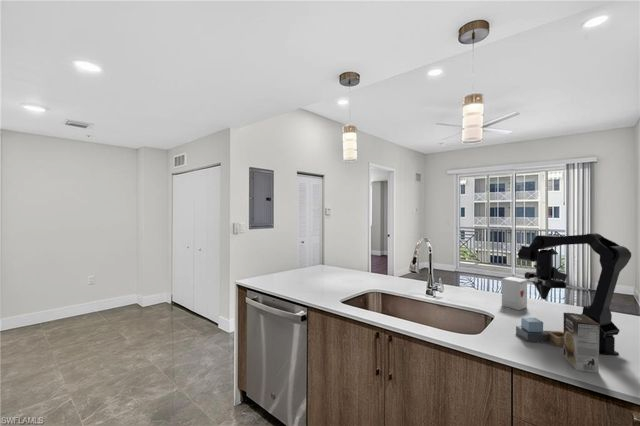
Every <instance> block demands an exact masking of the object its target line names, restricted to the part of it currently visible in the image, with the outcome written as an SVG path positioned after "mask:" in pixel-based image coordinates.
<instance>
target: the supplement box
mask: <svg viewBox="0 0 640 426" xmlns="http://www.w3.org/2000/svg"><path fill="white" fill-rule="evenodd" d="M502 306H503V307H505V308H510V309H513V310H517V311H520V310H523V309H526V308H528V279H526V278H525V279H524V278H520V277H514V276H508V277H504V278H502V279H501V307H502Z"/></svg>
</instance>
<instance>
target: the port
mask: <svg viewBox="0 0 640 426" xmlns="http://www.w3.org/2000/svg"><path fill="white" fill-rule="evenodd" d="M544 331H545V330H543V332H528V331H527V330H525V329H524V328H522V327H521V325H516V326H515V335H517V336H519V337H520V338H522V340H524V341H526V342H527V343H550V342H549V334H548V333H546V332H544Z"/></svg>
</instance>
